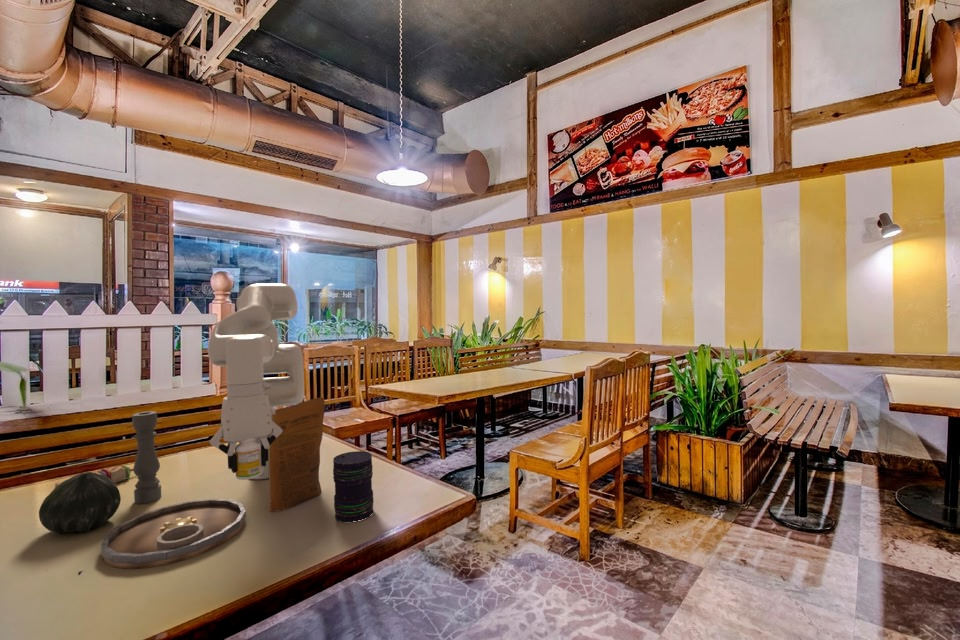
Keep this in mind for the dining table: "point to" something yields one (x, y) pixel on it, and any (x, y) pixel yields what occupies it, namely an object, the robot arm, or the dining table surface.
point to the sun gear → (177, 523)
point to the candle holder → (146, 458)
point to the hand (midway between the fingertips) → (248, 467)
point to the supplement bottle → (248, 459)
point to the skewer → (114, 473)
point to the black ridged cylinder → (353, 486)
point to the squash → (80, 503)
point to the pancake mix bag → (296, 454)
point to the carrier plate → (152, 531)
